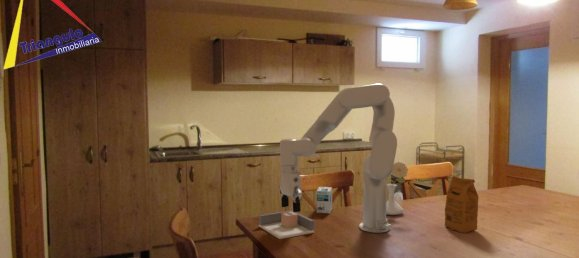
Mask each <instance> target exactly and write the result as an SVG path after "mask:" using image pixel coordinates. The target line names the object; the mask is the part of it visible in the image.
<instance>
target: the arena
mask: <svg viewBox="0 0 579 258" xmlns="http://www.w3.org/2000/svg"><path fill="white" fill-rule="evenodd" d="M286 212H293V209H291V210H285V211H278V212H271V213H270V212H269V213H266V214H259V215H258V217H259V218H258V219H259V222H258V224H259V226H258V227H259V228H260V229H262V230H263V231H266V232H267V233H269V234H270V235H271V236H273V237H275V238H277V239H279V240H282V239H288V238H293V237H298V236H302V235H308V234H314V233H315V219H312V218H309V217H307V216H305V215H303V214H301V213H299V212H294V213H296V214H298V226H296V227H290V228H286V227H284V226H283V225H281V213H286Z"/></svg>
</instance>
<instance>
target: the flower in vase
mask: <svg viewBox="0 0 579 258" xmlns="http://www.w3.org/2000/svg"><path fill="white" fill-rule="evenodd" d="M408 171H409V169H408V167H407V166H406V164H405V163H403V162H401V161H397V162H394V165H393V170H392V172H391V175H392V176H393V177H395V178H396V179H395V181H394V180H392V179H390V178H389V177H388V178H387V180H388V181H389V182H392V183H387V190H388V199H387V204H386V215H390V216H391V215H392V216H396V215H401V214H403V213H404V212H405V210H404V208H403V207H402V206H401V205H400V204H398V202H397V201H396V200H395V191H396V188H397V186H398V184H397V183H396V181H397V182H398V183H400V184H403V183H406V182H407V181H406V179H405V178H404V177H406V176H407V174H408ZM395 183H396V184H395Z"/></svg>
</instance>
